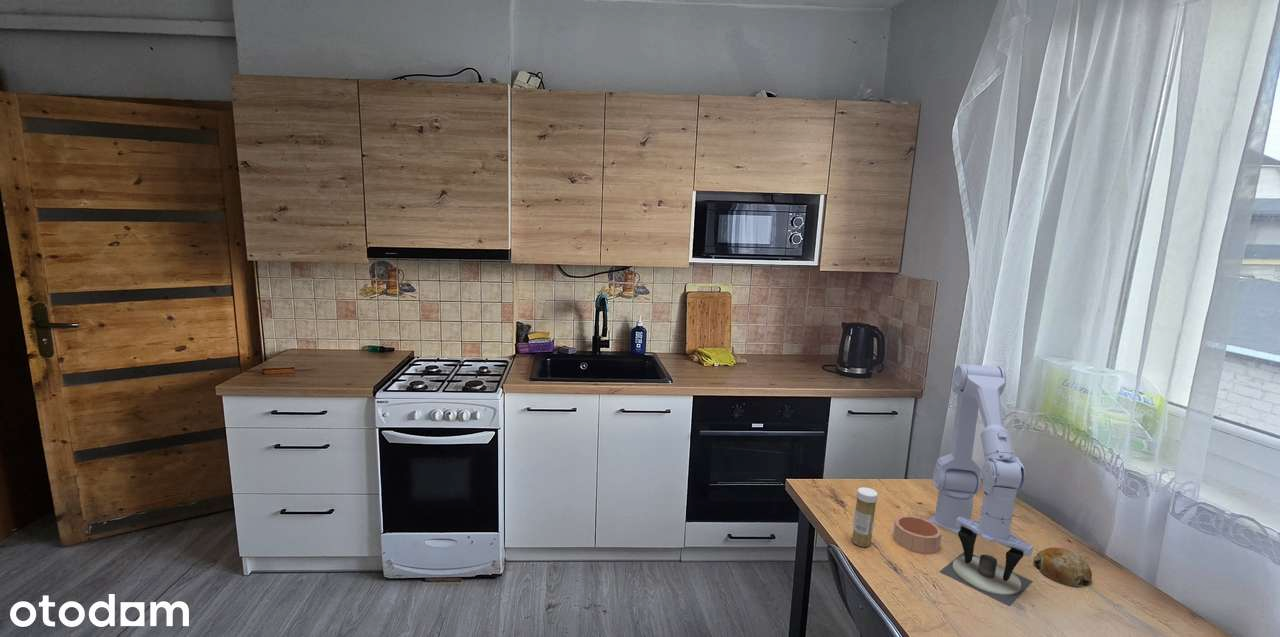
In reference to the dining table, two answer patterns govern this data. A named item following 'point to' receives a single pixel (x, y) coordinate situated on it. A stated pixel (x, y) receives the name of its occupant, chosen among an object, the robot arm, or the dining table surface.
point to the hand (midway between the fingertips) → (986, 570)
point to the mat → (1004, 599)
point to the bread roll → (1063, 567)
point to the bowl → (917, 534)
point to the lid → (986, 575)
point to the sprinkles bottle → (864, 517)
